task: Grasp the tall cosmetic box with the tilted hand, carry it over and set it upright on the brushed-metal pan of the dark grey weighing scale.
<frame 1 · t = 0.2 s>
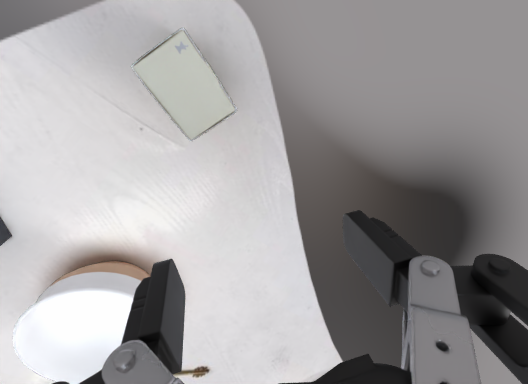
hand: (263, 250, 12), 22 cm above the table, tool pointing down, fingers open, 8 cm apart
cosmetic box: (193, 79, 29), on the table
bowl: (116, 290, 38), on the table
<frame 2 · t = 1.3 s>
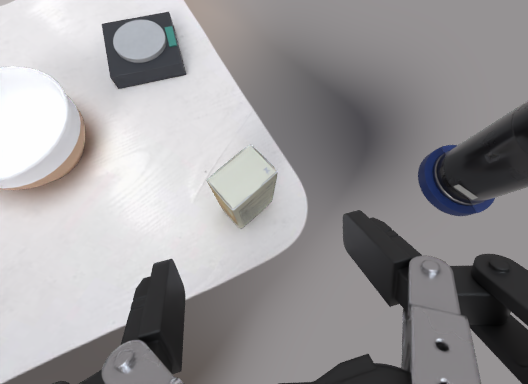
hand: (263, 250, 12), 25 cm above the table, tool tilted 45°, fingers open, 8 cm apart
scale: (147, 55, 46), on the table
cosmetic box: (246, 205, 39), on the table
bowl: (47, 150, 40), on the table
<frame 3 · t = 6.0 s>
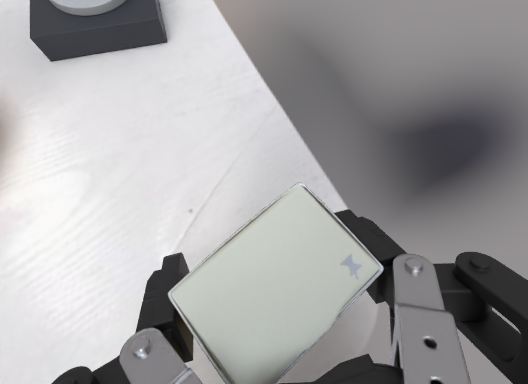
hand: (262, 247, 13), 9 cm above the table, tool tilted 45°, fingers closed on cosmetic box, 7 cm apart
scale: (105, 10, 28), on the table
cosmetic box: (263, 279, 20), on the table, touching gripper
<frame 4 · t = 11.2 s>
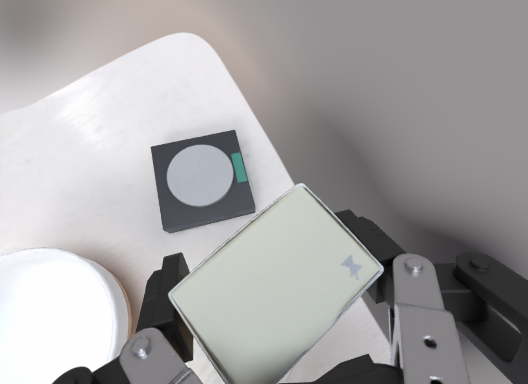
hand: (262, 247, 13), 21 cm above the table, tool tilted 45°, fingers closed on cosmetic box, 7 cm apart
scale: (204, 183, 36), on the table
cosmetic box: (263, 280, 20), point 13 cm above the table, touching gripper
bowl: (77, 328, 30), on the table
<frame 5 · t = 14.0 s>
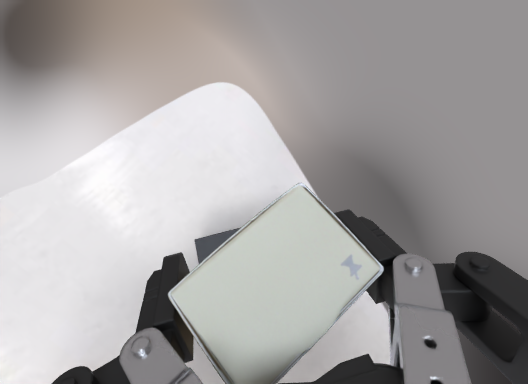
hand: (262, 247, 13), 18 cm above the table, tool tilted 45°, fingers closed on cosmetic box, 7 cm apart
scale: (258, 278, 30), on the table
cosmetic box: (263, 280, 20), point 9 cm above the table, touching gripper
when the fingers open (12 cm above the table, at t = 16.4 s): cosmetic box stays where it is, resting on scale.
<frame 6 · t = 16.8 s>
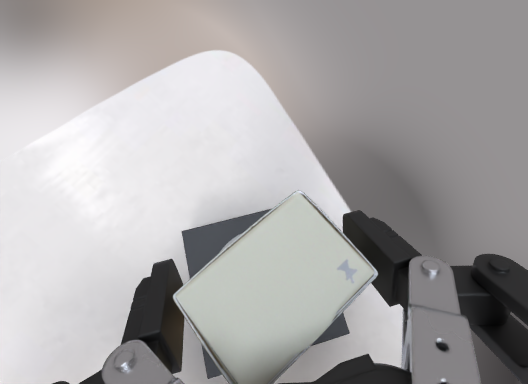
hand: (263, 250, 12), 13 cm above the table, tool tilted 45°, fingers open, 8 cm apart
scale: (260, 280, 24), on the table
cosmetic box: (263, 281, 21), point 3 cm above the table, touching scale
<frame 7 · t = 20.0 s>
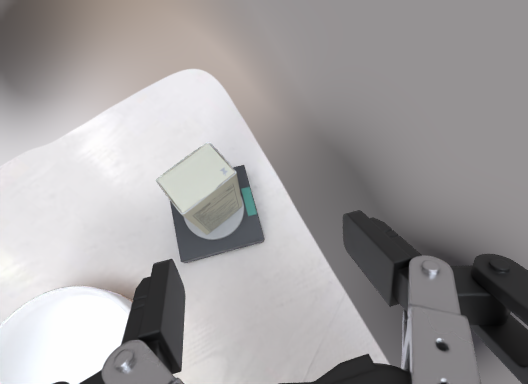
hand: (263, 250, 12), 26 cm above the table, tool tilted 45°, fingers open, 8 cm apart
scale: (216, 214, 39), on the table
cosmetic box: (214, 209, 36), point 3 cm above the table, touching scale
bowl: (103, 354, 33), on the table
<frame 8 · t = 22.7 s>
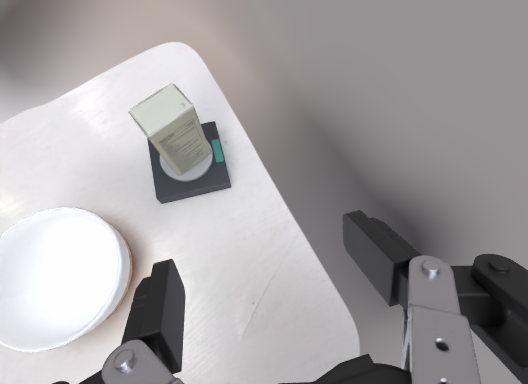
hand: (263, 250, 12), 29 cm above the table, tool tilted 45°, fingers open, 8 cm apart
scale: (190, 164, 44), on the table
cosmetic box: (187, 156, 41), point 3 cm above the table, touching scale
bowl: (89, 275, 39), on the table
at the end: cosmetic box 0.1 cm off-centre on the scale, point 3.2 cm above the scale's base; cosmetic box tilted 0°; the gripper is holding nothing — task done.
